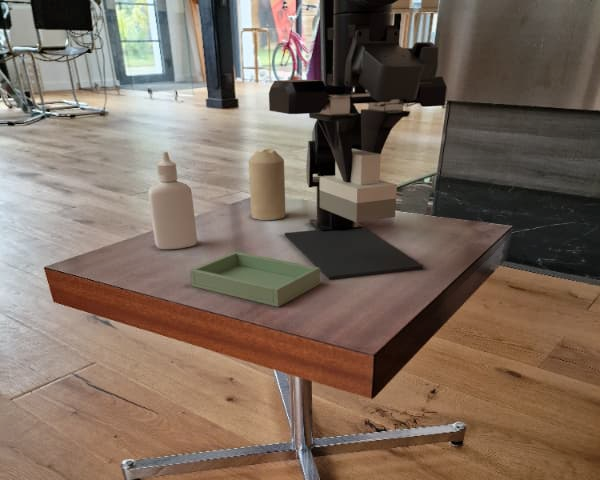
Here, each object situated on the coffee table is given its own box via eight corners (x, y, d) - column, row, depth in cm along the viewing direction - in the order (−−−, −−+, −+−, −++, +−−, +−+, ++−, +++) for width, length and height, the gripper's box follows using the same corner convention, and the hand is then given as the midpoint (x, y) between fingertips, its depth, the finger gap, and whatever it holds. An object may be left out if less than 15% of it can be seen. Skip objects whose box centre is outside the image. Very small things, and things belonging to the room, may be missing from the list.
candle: (264, 211, 96) (261, 146, 90) (291, 214, 93) (290, 148, 88) (244, 218, 92) (240, 151, 86) (273, 222, 89) (270, 153, 84)
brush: (319, 207, 69) (319, 149, 66) (355, 203, 71) (356, 146, 68) (356, 222, 62) (357, 158, 59) (395, 217, 64) (398, 154, 60)
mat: (284, 235, 82) (284, 232, 82) (362, 228, 85) (362, 225, 85) (329, 279, 66) (329, 276, 66) (423, 268, 69) (423, 265, 69)
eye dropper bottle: (161, 241, 81) (148, 149, 75) (200, 241, 80) (190, 149, 74) (152, 250, 77) (137, 154, 71) (192, 250, 77) (181, 154, 70)
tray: (191, 286, 65) (189, 269, 64) (236, 266, 71) (235, 251, 70) (278, 307, 59) (277, 289, 58) (320, 283, 65) (320, 267, 64)
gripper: (313, 6, 47) (314, 203, 55) (492, 9, 53) (469, 184, 61) (263, 15, 56) (270, 183, 64) (422, 17, 62) (410, 169, 70)
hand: (356, 180), depth 64 cm, fingers closed on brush, 2 cm apart
